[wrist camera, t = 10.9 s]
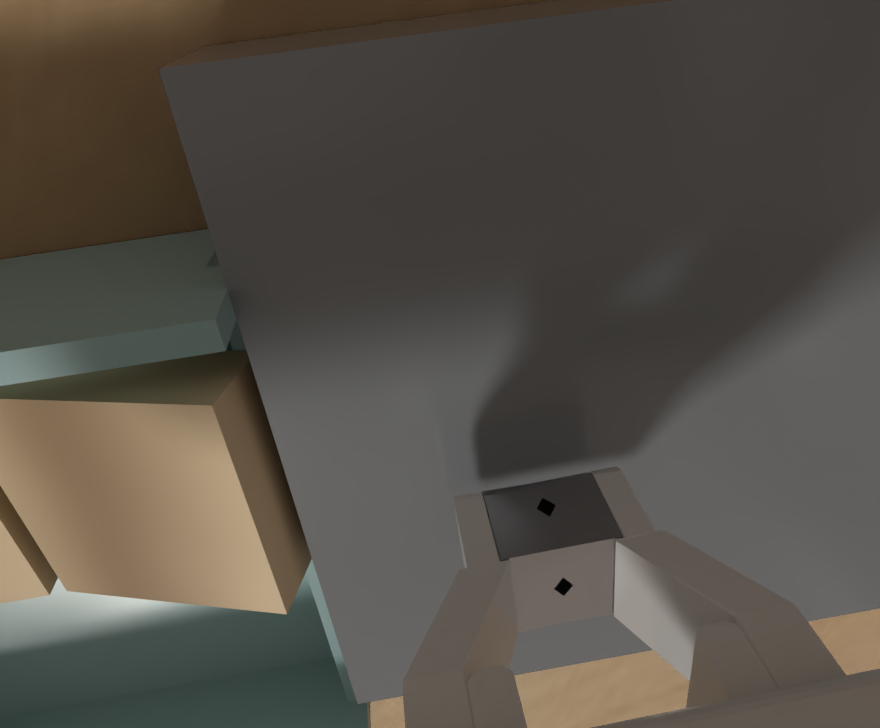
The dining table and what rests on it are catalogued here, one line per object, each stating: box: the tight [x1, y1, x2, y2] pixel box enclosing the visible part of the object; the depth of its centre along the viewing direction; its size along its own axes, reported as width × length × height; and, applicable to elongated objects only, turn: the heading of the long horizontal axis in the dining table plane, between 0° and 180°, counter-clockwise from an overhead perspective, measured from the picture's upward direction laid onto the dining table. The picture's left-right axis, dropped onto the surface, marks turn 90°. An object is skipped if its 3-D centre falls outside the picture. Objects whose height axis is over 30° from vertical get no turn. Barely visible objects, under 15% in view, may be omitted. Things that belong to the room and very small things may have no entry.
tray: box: [0, 229, 371, 728], centre depth 13 cm, size 12×13×4 cm
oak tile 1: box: [0, 350, 312, 614], centre depth 12 cm, size 5×5×2 cm
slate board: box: [158, 0, 880, 704], centre depth 13 cm, size 18×14×3 cm
